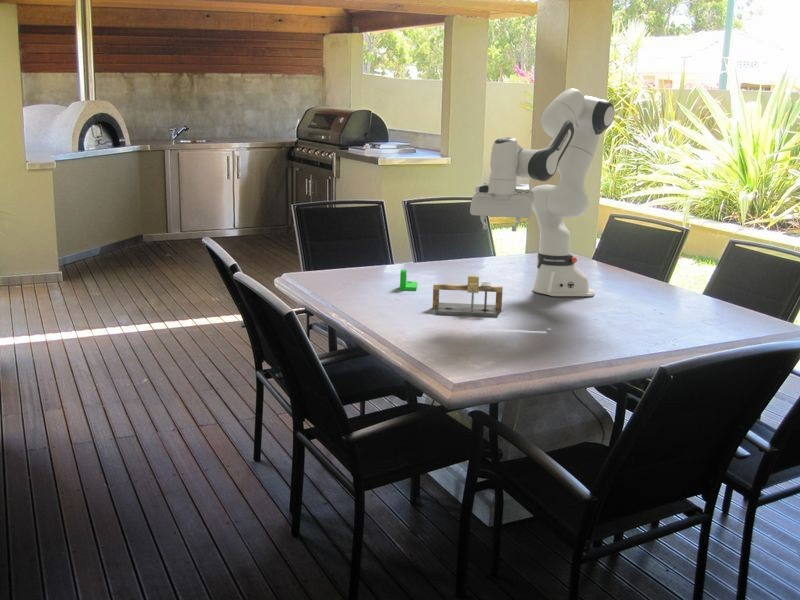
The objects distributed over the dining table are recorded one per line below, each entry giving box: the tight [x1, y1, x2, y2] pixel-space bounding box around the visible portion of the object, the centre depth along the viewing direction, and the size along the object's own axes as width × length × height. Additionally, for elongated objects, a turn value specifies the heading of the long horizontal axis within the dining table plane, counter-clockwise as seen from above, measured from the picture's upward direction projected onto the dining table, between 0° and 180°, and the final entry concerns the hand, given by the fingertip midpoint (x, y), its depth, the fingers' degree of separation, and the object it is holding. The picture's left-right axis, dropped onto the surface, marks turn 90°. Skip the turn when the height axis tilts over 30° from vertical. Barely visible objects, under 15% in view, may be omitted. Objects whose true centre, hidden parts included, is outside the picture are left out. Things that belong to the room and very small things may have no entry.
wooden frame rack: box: [432, 281, 504, 312], centre depth 280 cm, size 23×6×9 cm, turn 85°
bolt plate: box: [435, 302, 499, 318], centre depth 281 cm, size 20×13×1 cm, turn 85°
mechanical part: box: [399, 268, 418, 292], centre depth 315 cm, size 12×6×8 cm, turn 176°
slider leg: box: [466, 274, 480, 309], centre depth 280 cm, size 4×7×10 cm, turn 175°
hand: (499, 230), depth 279 cm, fingers open, 8 cm apart
